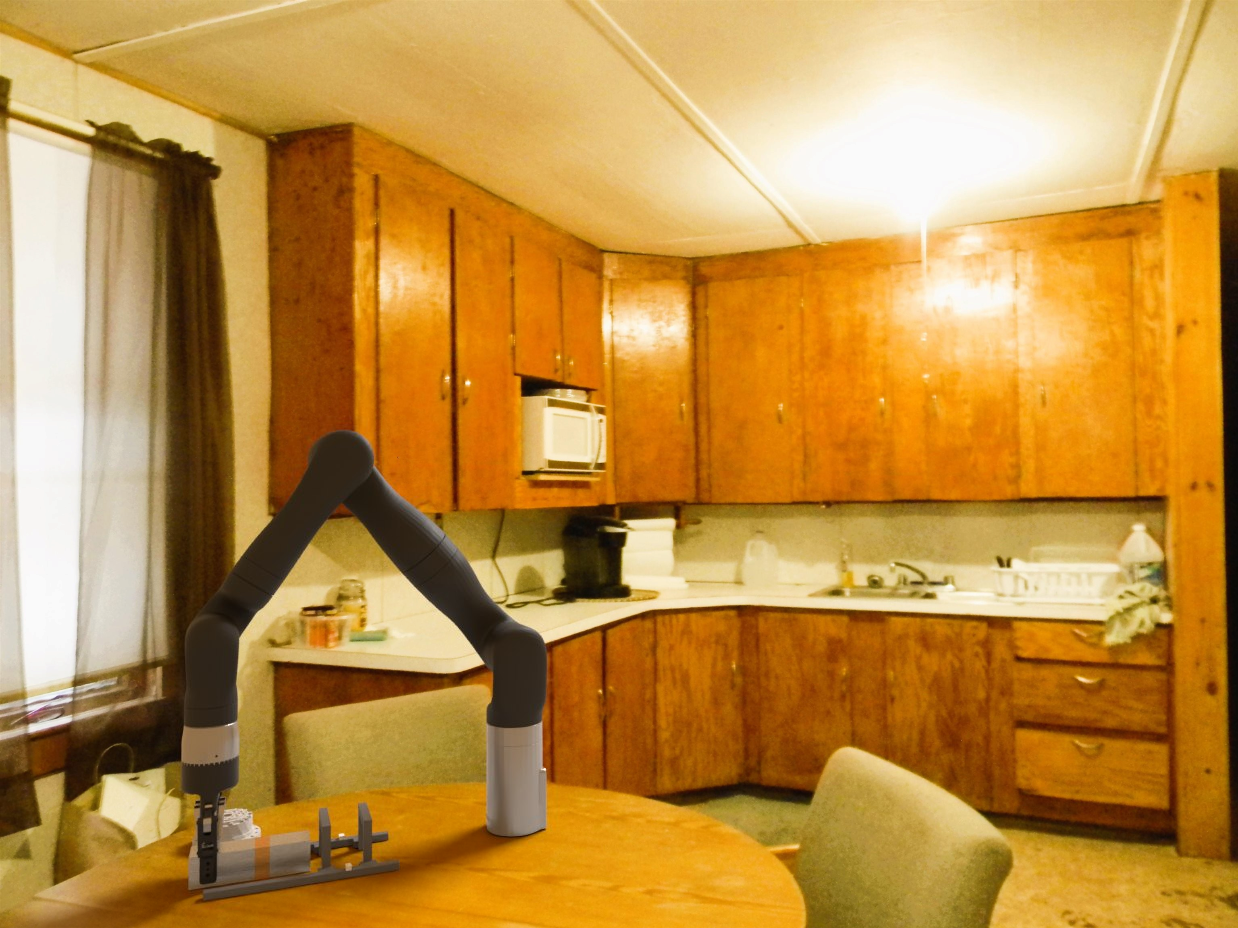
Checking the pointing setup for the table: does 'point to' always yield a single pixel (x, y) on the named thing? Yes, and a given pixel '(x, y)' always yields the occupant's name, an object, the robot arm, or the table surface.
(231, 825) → the mechanical component
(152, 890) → the table surface
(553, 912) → the table surface
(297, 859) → the bar
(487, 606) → the robot arm
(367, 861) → the collar frame
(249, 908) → the table surface
